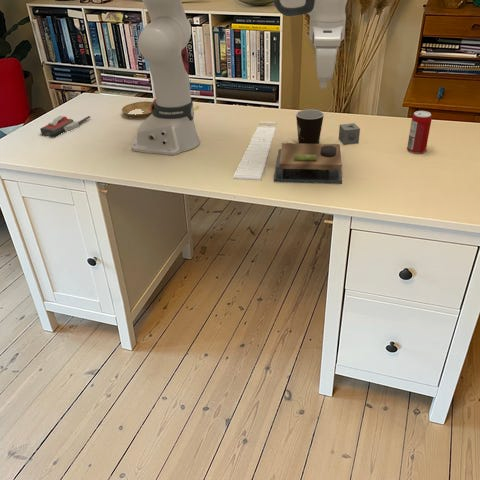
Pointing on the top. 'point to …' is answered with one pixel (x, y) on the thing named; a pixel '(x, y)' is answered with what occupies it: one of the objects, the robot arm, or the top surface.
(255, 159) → the keyboard
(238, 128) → the top surface
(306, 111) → the coffee mug
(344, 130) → the dice cube
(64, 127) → the toy chainsaw
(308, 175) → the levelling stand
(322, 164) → the levelling board
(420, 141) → the soda can
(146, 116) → the plant saucer
